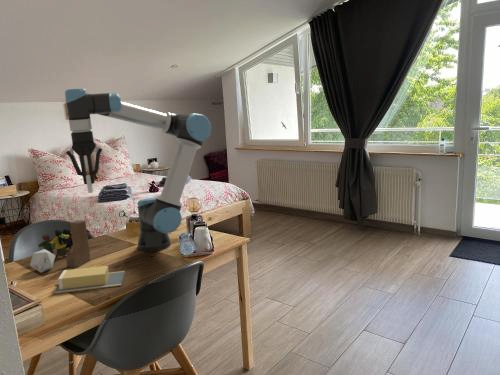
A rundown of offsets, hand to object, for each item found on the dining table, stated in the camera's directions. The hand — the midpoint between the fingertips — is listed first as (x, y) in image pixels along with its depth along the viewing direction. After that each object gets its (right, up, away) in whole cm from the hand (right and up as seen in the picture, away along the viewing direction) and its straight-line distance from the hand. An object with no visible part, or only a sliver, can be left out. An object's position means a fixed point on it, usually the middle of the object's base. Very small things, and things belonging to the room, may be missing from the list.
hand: (90, 192), depth 153 cm
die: (-23, -32, +10) cm, 41 cm away
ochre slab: (+8, -31, -4) cm, 32 cm away
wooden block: (-11, -31, +15) cm, 36 cm away
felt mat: (+2, -34, -4) cm, 34 cm away
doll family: (-22, -29, +28) cm, 46 cm away
